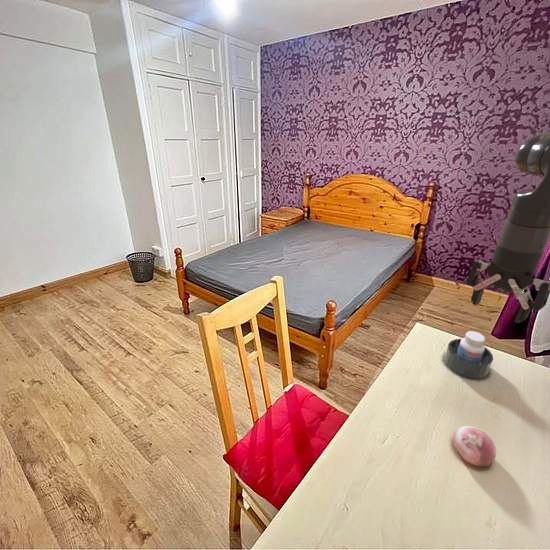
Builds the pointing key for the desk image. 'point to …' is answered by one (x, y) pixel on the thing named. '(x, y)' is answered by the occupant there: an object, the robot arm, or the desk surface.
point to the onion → (474, 445)
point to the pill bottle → (471, 347)
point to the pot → (466, 367)
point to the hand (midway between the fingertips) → (495, 312)
